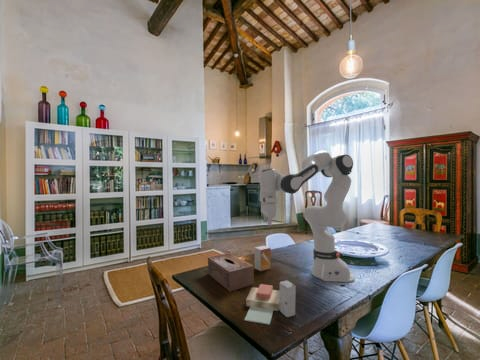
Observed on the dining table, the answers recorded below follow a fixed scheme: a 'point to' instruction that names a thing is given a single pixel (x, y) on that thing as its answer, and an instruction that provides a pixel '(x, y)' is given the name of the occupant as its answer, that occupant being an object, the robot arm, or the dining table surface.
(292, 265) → the dining table surface
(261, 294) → the pink tray
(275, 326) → the dining table surface
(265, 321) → the mat
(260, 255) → the small box
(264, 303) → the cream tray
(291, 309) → the skincare box
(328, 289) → the dining table surface
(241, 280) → the tissue box cover
